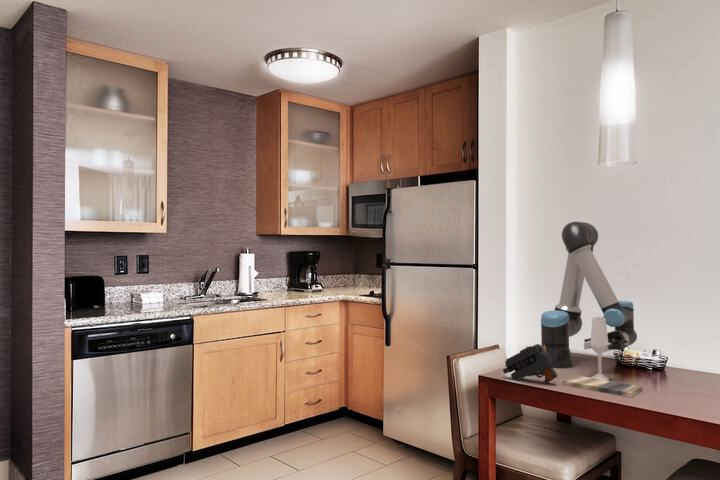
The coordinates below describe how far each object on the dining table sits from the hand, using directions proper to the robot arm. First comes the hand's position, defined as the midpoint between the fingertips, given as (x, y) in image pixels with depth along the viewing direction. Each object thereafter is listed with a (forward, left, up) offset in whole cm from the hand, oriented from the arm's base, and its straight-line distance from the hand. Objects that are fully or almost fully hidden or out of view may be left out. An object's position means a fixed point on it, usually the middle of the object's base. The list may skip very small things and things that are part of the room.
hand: (594, 347), depth 202 cm
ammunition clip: (-21, -7, -13) cm, 26 cm away
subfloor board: (+6, -9, -13) cm, 17 cm away
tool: (-18, -19, -13) cm, 29 cm away
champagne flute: (0, +5, -13) cm, 14 cm away
